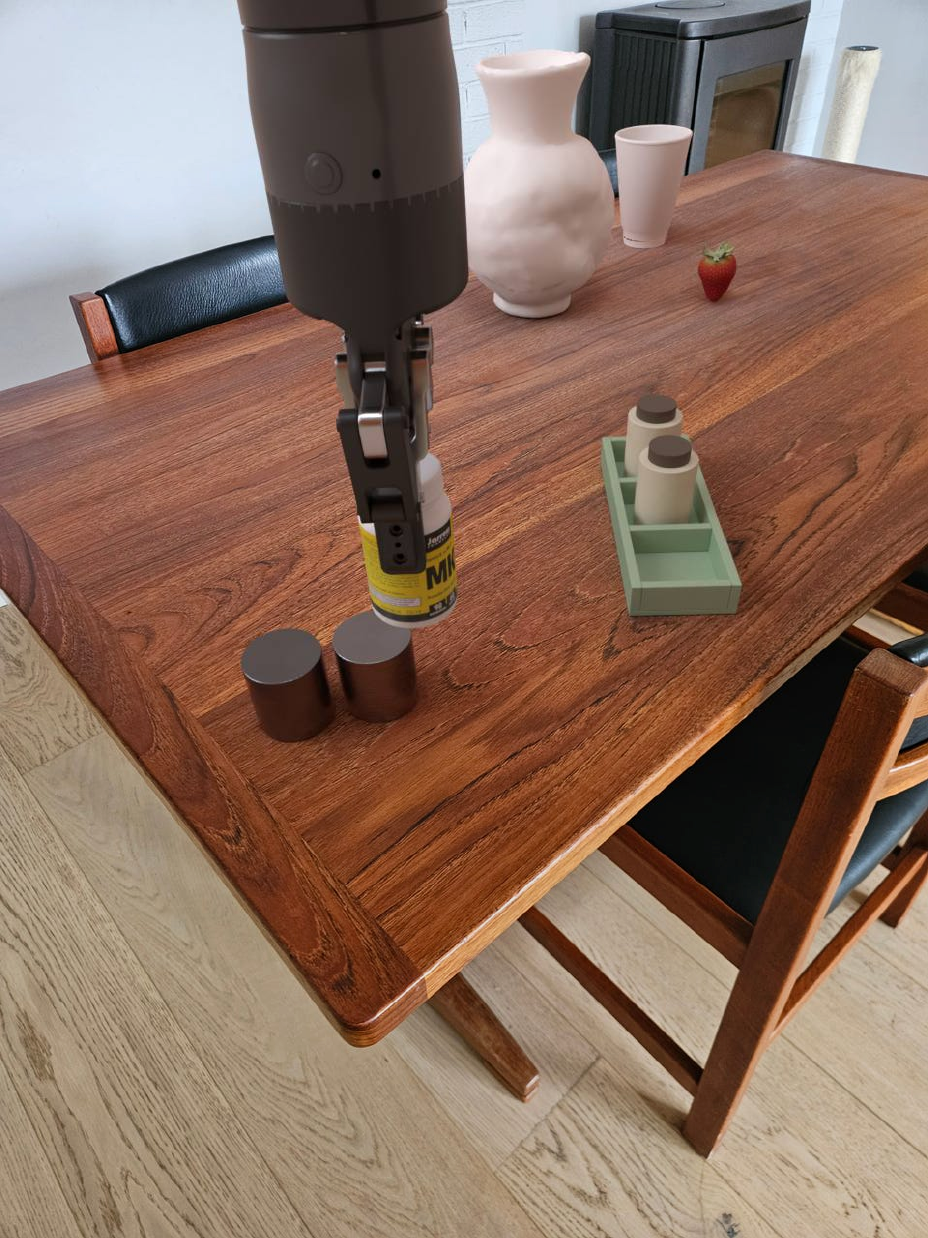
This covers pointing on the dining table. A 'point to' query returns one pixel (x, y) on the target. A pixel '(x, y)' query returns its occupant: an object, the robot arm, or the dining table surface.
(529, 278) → the vase
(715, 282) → the fruit
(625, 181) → the cup
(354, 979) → the dining table surface
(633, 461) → the cream bottle
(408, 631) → the grey tin
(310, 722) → the grey tin
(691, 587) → the rack
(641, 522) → the cream bottle
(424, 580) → the supplement bottle
